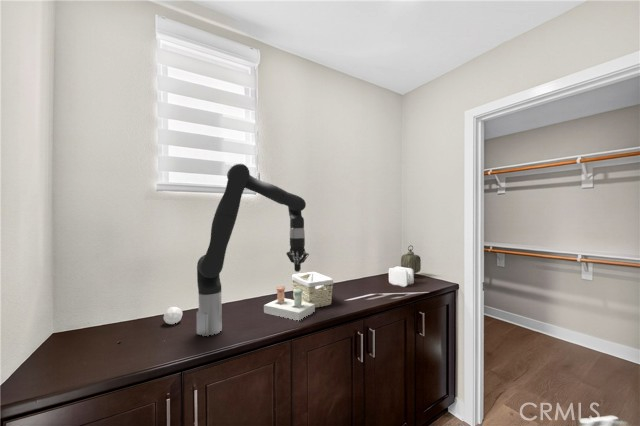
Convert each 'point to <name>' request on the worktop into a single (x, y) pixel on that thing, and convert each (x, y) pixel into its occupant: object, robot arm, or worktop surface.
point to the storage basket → (314, 288)
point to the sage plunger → (297, 297)
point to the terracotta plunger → (280, 293)
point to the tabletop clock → (411, 261)
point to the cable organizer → (401, 276)
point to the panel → (289, 309)
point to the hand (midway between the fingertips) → (297, 271)
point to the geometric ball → (173, 315)
